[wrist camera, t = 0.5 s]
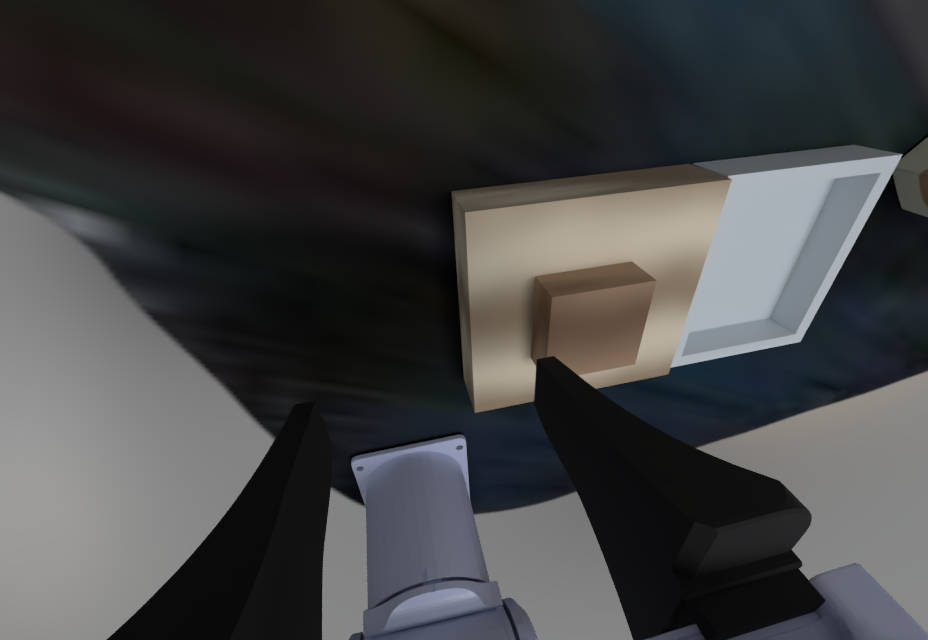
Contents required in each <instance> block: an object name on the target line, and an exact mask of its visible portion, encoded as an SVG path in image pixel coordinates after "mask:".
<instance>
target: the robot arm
mask: <svg viewBox="0 0 928 640" xmlns="http://www.w3.org/2000/svg"><path fill="white" fill-rule="evenodd" d="M534 404H535V407H536V409H537V412H538V415H539V417H540V420H541V422H542V425H543V428H544V430H545V432H546V434H547V436H548V438H549V440H550V441H551V443H552V445H553V447H554V449H555V451H556V453H557V455H558V457H559V458H560V460H561V462H562V464H563V466H564V468H565V470H566V471H567V473H568V475H569V477H570V479H571V481H572V483H573V485H574V486H575V488H576V491H577V493H578V495H579V496H580V499H581V501H582V503H583V506H584V508H585V511H586V513H587V515H588V518H589V520H590V523H591V525H592V528H593V530H594V533H595V535H596V538H597V540H598V543H599V545H600V548H601V550H602V552H603V555H604V558H605V561H606V563H607V566H608V569H609V572H610V574H611V577H612V580H613V582H614V585H615V588H616V590H617V593H618V596H619V599H620V602H621V605H622V608H623V611H624V613H625V616H626V619H627V622H628V625H629V628H630V631H631V634H632V637H633V640H928V633H927V632H926V631H925V630H924V629H923V628H922V627H921V626H920V625H919V624H918V623H917V622H916V621H915V620H914V619H913V618H912V617H911V616H910V615H909V614H908V613H907V612H906V611H905V610H904V609H903V608H902V607H901V606H900V605H899V604H898V603H897V602H896V601H895V600H894V599H893V598H892V597H891V596H890V595H889V594H888V593H887V591H886V590H885V589H884V588H883V587H882V586H881V585H880V584H879V583H878V582H877V581H876V580H875V579H874V578H873V577H872V576H871V575H870V574H869V573H868V572H867V571H866V570H865V569H864V568H863V567H862V566H861V565H860V564H856V563H853V564H850V565H847V566H843V567H840V568H837V569H834V570H830V571H827V572H824V573H821V574H818V575H816V576H815V577H813V578H811V579H810V580H808V579H807V578H806V577H805V576H804V575H803V573H802V572H801V571H800V570H799V569H798V568H800V567H801V566H802V562H801V560H800V559H799V558H798V557H797V556H796V555H795V553H794V552H793V551H792V550H791V549H792V548H793V547H794V546H795V544H796V543H797V542H798V541H799V539H800V538H801V537H802V536H803V535H804V533H805V532H806V530H807V529H808V528H809V526H810V523H811V513H810V512H809V510H808V509H807V508H806V507H805V506H804V505H803V504H802V503H801V502H800V501H799V500H798V499H797V498H796V497H795V496H794V495H793V494H792V493H791V492H790V491H789V490H788V489H787V488H786V487H785V486H784V485H783V484H782V483H781V482H780V481H778V480H775V479H773V478H770V477H767V476H764V475H761V474H758V473H756V472H753V471H750V470H747V469H744V468H741V467H739V466H736V465H733V464H731V463H729V462H726V461H724V460H721V459H719V458H716V457H714V456H712V455H709V454H707V453H705V452H702V451H700V450H698V449H696V448H694V447H692V446H690V445H687V444H685V443H683V442H681V441H679V440H677V439H675V438H673V437H671V436H669V435H667V434H665V433H664V432H662V431H660V430H658V429H656V428H655V427H653V426H651V425H649V424H648V423H646V422H644V421H642V420H641V419H639V418H637V417H636V416H634V415H633V414H631V413H629V412H628V411H626V410H625V409H623V408H622V407H620V406H619V405H617V404H616V403H614V402H613V401H612V400H610V399H609V398H607V397H606V396H605V395H603V394H602V393H601V392H599V391H598V390H597V389H595V388H594V387H592V386H591V385H590V384H589V383H587V382H586V381H585V380H583V379H582V378H581V377H580V376H578V375H577V374H576V373H575V372H573V371H572V370H571V369H570V368H568V367H567V366H566V365H565V364H563V363H562V362H561V361H560V360H558V359H557V358H556V357H555V356H551V357H546V358H540V359H537V363H536V379H535V395H534ZM351 466H352V469H353V472H354V475H355V478H356V481H357V484H358V487H359V489H360V492H361V495H362V498H363V501H364V504H365V507H366V517H367V575H368V576H367V577H368V578H367V579H368V609H367V610H365V611H364V613H363V614H364V615H363V619H364V620H363V622H364V624H363V626H364V635H363V632H360V633H356V634H353V635H351V637H350V639H349V640H538V639H537V636H536V633H535V631H534V628H533V625H532V623H531V621H530V619H529V617H528V615H527V613H526V612H525V611H524V609H522V608H521V607H520V606H519V605H518V604H517V603H516V602H515V601H514V600H513V599H512V598H506V599H501V594H500V590H499V586H498V583H497V581H494V582H490V580H489V576H488V572H487V568H486V564H485V560H484V556H483V552H482V548H481V544H480V540H479V536H478V532H477V527H476V523H475V519H474V515H473V511H472V507H471V503H470V491H469V477H468V463H467V449H466V440H465V437H464V436H463V435H454V436H449V437H444V438H439V439H435V440H430V441H425V442H420V443H415V444H411V445H406V446H401V447H396V448H391V449H386V450H382V451H377V452H372V453H367V454H362V455H358V456H355V457H353V458H352V460H351ZM331 480H332V444H331V441H330V438H329V436H328V433H327V430H326V427H325V425H324V422H323V419H322V417H321V414H320V411H319V409H318V406H317V403H316V401H312V402H307V403H302V404H296V405H295V406H294V407H293V408H292V410H291V412H290V414H289V415H288V417H287V419H286V421H285V423H284V425H283V426H282V428H281V430H280V432H279V434H278V435H277V437H276V439H275V440H274V442H273V444H272V446H271V447H270V449H269V451H268V452H267V454H266V455H265V457H264V459H263V460H262V462H261V464H260V465H259V467H258V468H257V470H256V472H255V473H254V474H253V476H252V478H251V479H250V480H249V482H248V483H247V485H246V486H245V488H244V489H243V491H242V492H241V494H240V495H239V496H238V498H237V499H236V501H235V502H234V504H233V505H232V506H231V507H230V509H229V510H228V511H227V513H226V514H225V515H224V517H223V518H222V519H221V521H220V522H219V523H218V524H217V525H216V527H215V528H214V529H213V530H212V532H211V533H210V534H209V535H208V536H207V538H206V539H205V540H204V541H203V542H202V543H201V545H200V546H199V547H198V548H197V549H196V550H195V552H194V553H193V554H192V555H191V556H190V557H189V559H188V560H187V561H186V562H185V563H184V564H183V565H182V566H181V567H180V569H179V570H178V571H177V572H176V573H175V574H174V575H173V576H172V577H171V578H170V579H169V580H168V581H167V582H166V583H165V584H164V585H163V586H162V587H161V588H160V589H159V590H158V591H157V592H156V593H155V594H154V596H153V597H151V598H150V599H149V601H147V603H145V605H143V606H142V607H141V608H140V609H139V610H138V611H137V612H136V613H135V614H134V615H133V616H132V617H131V618H130V619H129V620H128V621H127V622H126V623H125V624H124V625H122V626H121V627H120V628H119V629H118V630H117V631H116V632H115V633H114V634H113V635H111V636H110V638H108V639H107V640H322V569H323V568H322V567H323V551H324V541H325V532H326V524H327V515H328V507H329V498H330V489H331Z"/></svg>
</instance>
